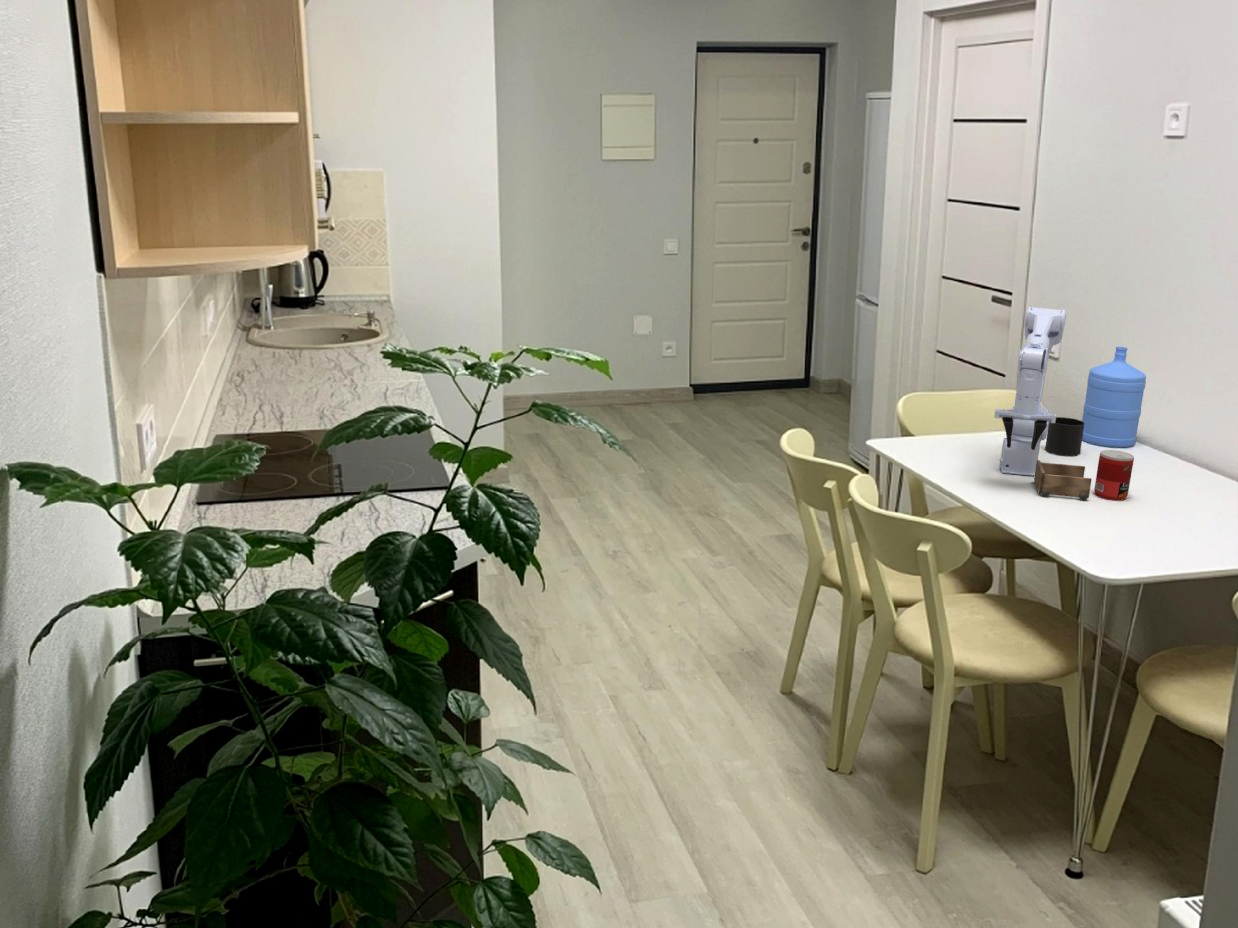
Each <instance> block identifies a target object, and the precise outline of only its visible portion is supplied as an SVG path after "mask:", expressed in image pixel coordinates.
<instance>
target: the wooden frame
mask: <svg viewBox="0 0 1238 928" xmlns="http://www.w3.org/2000/svg"><path fill="white" fill-rule="evenodd" d="M1085 471H1086V466H1085V465H1077V464H1064V463H1053V462H1044V461H1042V462H1041V460H1040V459H1038V460H1037V463H1036V470H1035V476H1033V482H1034V484H1035V486H1036V489H1037V492H1038V494H1039V495H1041V496H1042V497H1043V498H1047V497H1049V496H1061V497H1070V498H1079V499H1080V500H1081V501H1083V502H1084V501H1087V499H1089V498H1090V494H1091V493H1090V491H1091V487H1092V486H1091V485H1092V478H1091V477H1090V478H1089V477H1085Z"/></svg>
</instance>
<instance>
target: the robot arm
mask: <svg viewBox="0 0 1238 928" xmlns="http://www.w3.org/2000/svg"><path fill="white" fill-rule="evenodd" d="M1025 313H1026V314H1025V318H1024V336H1025V338H1024V339H1025V343H1024V346H1023V349H1022V348H1020V350H1019V353H1018V359H1017V385H1016V390H1015V391H1016V392H1015V397H1014V398H1015V399H1014V404H1013V405H1014V406H1013V407H1012V408H1011V409H1000V408H996V409H994V418H995V419H1001V421H1002V422H1003V423H1002V424H1003V426H1004V431H1005V435H1006V437H1004V438H1003V440H1002V444H1001V445H1002V446H1001V455H1000V459H999V468H1000V471H1001V473H1002V474H1008V475H1009V474H1010V475H1020V476H1031V477H1035V470H1036V463H1037V460H1039V454H1040V448H1041V442H1042V441H1044V440H1046V439H1047V432H1048V425H1049V422H1050V423H1055V421H1056V417H1057V414H1055V413H1049V410H1048V409H1047V408H1046V407H1045V406H1044V405H1043V404H1042V402H1041V401H1042V397H1043V392H1044V387H1045V386H1044V385H1045V380H1046V375H1047V369H1048V363H1049V357H1050V354H1051V351H1052V349H1053V347H1054V346H1055V345H1059V344H1060V343H1061V341H1062V340H1063V335H1064V331H1065V327H1066V326H1065V325H1066V319H1067V311H1066V310H1065V309H1057V308H1056V309H1055V308H1044V307H1035V306H1034V307H1033V306H1032V305H1031V306H1029V307H1027V309H1026V312H1025Z"/></svg>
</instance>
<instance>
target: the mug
mask: <svg viewBox="0 0 1238 928" xmlns="http://www.w3.org/2000/svg"><path fill="white" fill-rule="evenodd" d="M1083 431H1084V422H1082V420H1079V419H1076V418H1071V417H1064V416H1062V417H1060V416H1056V421H1055V423H1050V422H1049V425H1048V432H1047V437H1046V439H1045V440H1046V441H1045V447H1044V448H1045V451H1046V452H1047V453H1049V454H1053V455H1055V456H1056V455H1057V456H1062V457H1076V456H1079V455H1080V454H1081V451H1082V442H1083V440H1082V437H1083Z"/></svg>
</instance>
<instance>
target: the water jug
mask: <svg viewBox="0 0 1238 928" xmlns="http://www.w3.org/2000/svg"><path fill="white" fill-rule="evenodd" d="M1127 351H1128V348H1127V347H1123V346H1116V347H1115V353H1114V358H1113V360H1112V361H1110V362H1106V363H1103V364H1100V365H1098V366H1094V367H1091V368H1090V369H1089V372H1088V376H1087V386H1086V391H1085V392H1086V393H1085V399H1084V400H1085V401H1084V404H1083V413H1082V419H1081V421H1082V422H1084V431H1083V437H1082V441H1083V442H1086V443H1087V444H1091V445H1094V446H1099V447H1105V448H1117V449H1119V448H1120V449H1121V448H1124V449H1125V448H1130V447H1133V446H1134V445H1135V444H1136V442H1137V438H1138V436H1137V435H1138V427H1139V421H1140V417H1141V414H1142V404H1143V399H1144V392H1145V388H1146V382H1147V381H1146V380H1147V376H1146V374H1145V373H1144V372H1142V371H1141V370H1139V369H1138V368H1136V367H1134V366H1133V365H1131V364H1129V363H1127V361H1126V359H1127V355H1128V354H1127Z"/></svg>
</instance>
